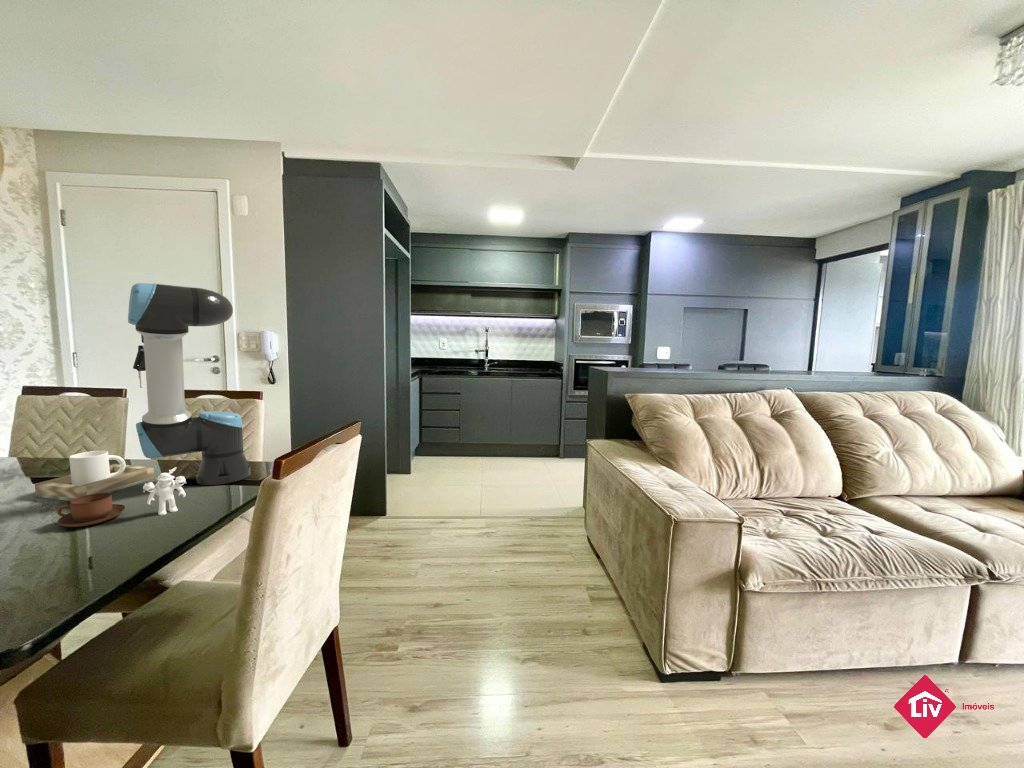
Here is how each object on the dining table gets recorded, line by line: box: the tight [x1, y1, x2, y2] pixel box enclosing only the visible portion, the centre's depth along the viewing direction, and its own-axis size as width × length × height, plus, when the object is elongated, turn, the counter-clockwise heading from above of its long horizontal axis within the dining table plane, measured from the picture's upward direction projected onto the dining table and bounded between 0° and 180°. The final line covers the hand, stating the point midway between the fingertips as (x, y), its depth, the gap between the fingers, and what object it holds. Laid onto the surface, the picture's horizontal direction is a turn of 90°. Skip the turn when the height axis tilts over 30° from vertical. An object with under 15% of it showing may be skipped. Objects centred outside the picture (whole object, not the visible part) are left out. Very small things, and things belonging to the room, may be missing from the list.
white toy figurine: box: [142, 466, 187, 516], centre depth 106 cm, size 9×4×12 cm, turn 144°
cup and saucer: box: [56, 492, 126, 528], centre depth 101 cm, size 12×12×6 cm
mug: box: [68, 450, 127, 486], centre depth 123 cm, size 12×8×10 cm
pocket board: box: [34, 463, 156, 502], centre depth 123 cm, size 17×20×4 cm
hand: (158, 388), depth 149 cm, fingers open, 13 cm apart
